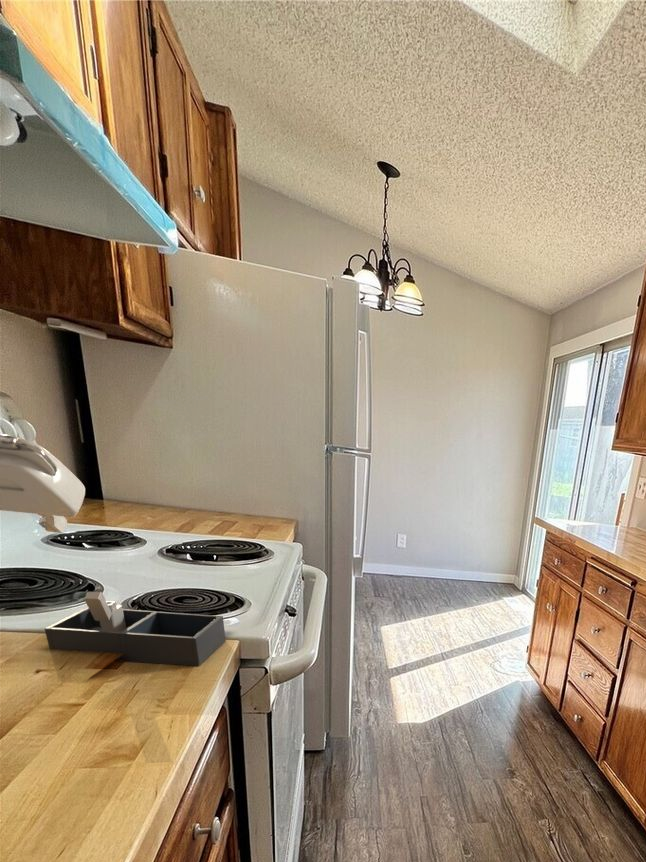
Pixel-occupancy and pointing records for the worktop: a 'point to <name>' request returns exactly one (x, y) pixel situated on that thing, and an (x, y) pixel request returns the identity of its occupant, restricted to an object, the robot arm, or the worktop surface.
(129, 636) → the sorter
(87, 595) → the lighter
